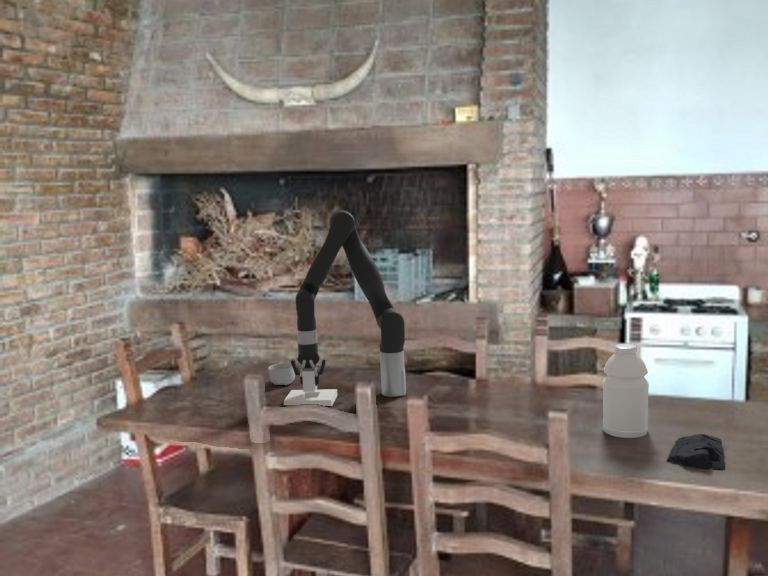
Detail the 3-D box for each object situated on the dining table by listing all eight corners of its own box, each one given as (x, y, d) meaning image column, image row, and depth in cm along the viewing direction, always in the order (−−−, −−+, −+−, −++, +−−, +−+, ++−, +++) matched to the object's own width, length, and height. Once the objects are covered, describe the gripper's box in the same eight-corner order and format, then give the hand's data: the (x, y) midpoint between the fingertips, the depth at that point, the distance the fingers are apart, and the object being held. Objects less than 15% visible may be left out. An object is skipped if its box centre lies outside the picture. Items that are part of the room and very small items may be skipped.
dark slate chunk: (729, 446, 225) (730, 431, 224) (723, 473, 206) (723, 457, 205) (675, 440, 232) (675, 425, 231) (664, 465, 213) (664, 449, 212)
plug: (317, 387, 289) (316, 365, 288) (314, 391, 284) (313, 368, 282) (306, 387, 290) (304, 365, 288) (303, 391, 284) (301, 368, 283)
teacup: (293, 387, 308) (292, 368, 306) (267, 388, 308) (266, 369, 307) (298, 378, 321) (297, 359, 320) (272, 379, 322) (271, 360, 321)
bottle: (594, 432, 240) (594, 347, 236) (615, 421, 250) (615, 338, 246) (635, 442, 230) (636, 353, 226) (656, 430, 240) (657, 344, 236)
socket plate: (337, 395, 293) (337, 389, 293) (331, 406, 280) (331, 400, 279) (292, 396, 295) (291, 389, 295) (284, 407, 281) (283, 400, 281)
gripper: (327, 338, 287) (330, 382, 289) (291, 339, 288) (293, 382, 291) (324, 343, 279) (326, 387, 282) (286, 344, 281) (289, 388, 283)
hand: (310, 385), depth 286 cm, fingers closed on plug, 4 cm apart
